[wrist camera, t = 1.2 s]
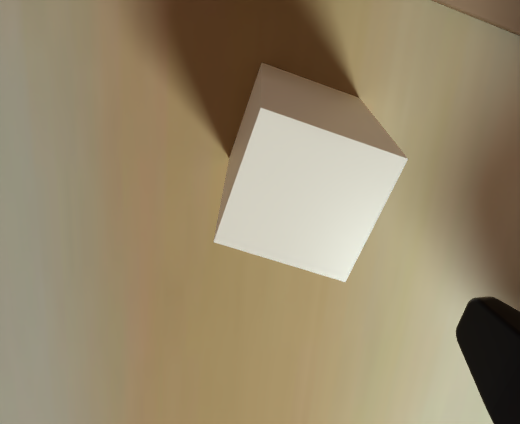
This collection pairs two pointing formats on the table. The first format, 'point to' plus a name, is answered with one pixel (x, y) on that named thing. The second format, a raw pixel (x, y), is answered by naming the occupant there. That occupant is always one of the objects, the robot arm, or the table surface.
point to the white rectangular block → (306, 175)
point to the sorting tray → (490, 11)
